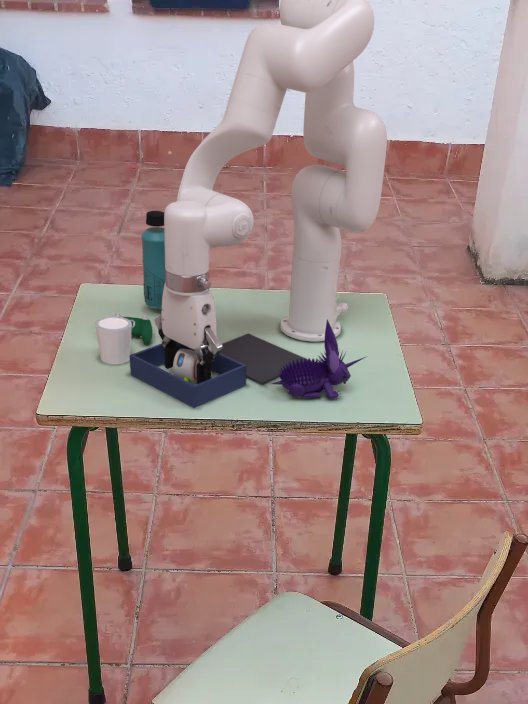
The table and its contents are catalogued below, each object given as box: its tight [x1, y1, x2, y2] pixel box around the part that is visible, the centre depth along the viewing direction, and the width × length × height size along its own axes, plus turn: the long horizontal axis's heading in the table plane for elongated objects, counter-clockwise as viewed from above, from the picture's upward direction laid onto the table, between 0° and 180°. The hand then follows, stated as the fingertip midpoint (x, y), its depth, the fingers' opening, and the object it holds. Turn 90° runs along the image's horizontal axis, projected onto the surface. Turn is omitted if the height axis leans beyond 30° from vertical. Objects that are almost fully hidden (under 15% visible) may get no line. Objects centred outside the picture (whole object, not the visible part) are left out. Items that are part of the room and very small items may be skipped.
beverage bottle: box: [140, 210, 166, 310], centre depth 184 cm, size 6×7×20 cm
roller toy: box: [172, 349, 199, 384], centre depth 164 cm, size 4×6×6 cm
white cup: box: [94, 315, 132, 365], centre depth 169 cm, size 7×7×7 cm
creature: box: [270, 319, 368, 400], centre depth 161 cm, size 9×18×12 cm, turn 96°
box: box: [129, 342, 247, 409], centre depth 165 cm, size 13×17×4 cm
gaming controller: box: [114, 312, 153, 346], centre depth 178 cm, size 9×4×6 cm
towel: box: [220, 333, 309, 386], centre depth 174 cm, size 14×17×1 cm
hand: (187, 373), depth 165 cm, fingers open, 7 cm apart
